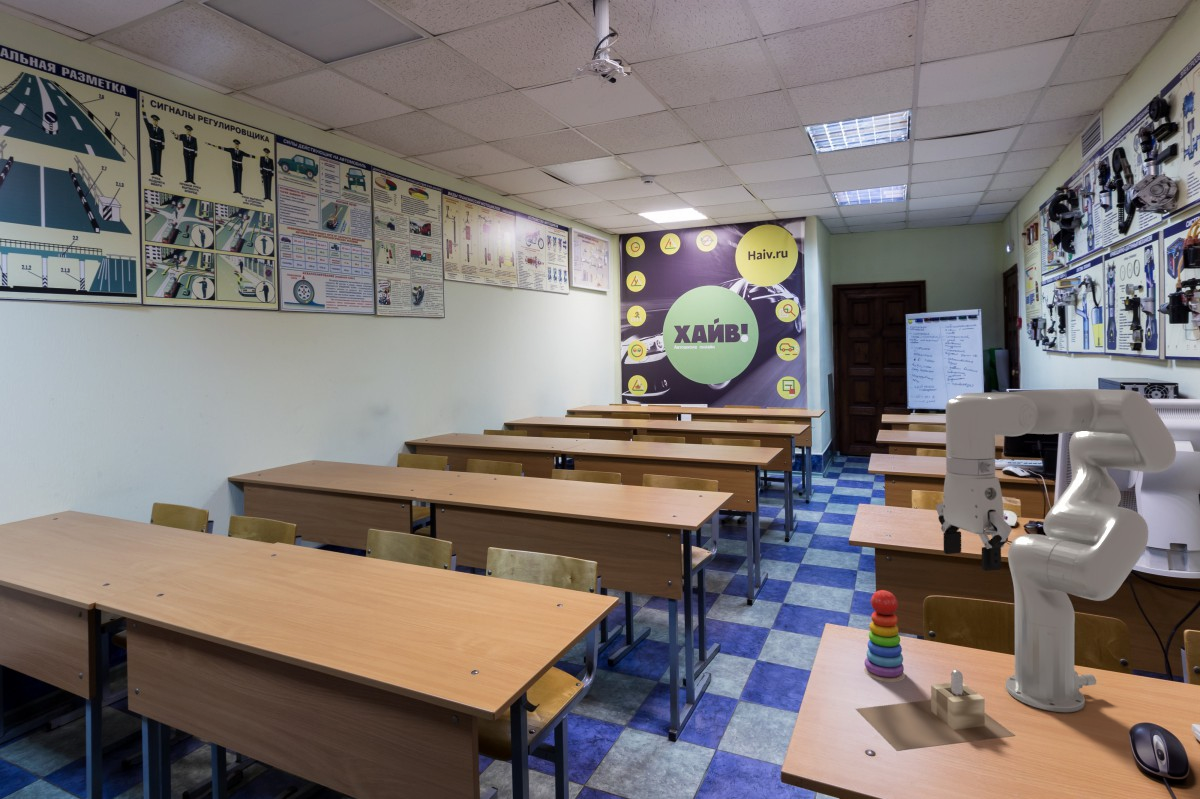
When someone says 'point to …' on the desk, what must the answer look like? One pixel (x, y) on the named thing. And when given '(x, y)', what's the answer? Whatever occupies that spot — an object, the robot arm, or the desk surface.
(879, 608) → the stacking toy
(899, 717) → the brown rectangular board
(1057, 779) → the desk surface
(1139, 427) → the robot arm
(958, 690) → the grey glassy cylinder
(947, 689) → the wooden square holder
